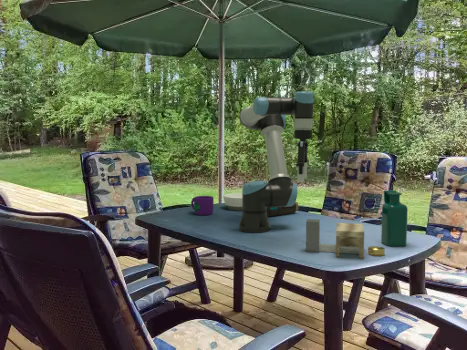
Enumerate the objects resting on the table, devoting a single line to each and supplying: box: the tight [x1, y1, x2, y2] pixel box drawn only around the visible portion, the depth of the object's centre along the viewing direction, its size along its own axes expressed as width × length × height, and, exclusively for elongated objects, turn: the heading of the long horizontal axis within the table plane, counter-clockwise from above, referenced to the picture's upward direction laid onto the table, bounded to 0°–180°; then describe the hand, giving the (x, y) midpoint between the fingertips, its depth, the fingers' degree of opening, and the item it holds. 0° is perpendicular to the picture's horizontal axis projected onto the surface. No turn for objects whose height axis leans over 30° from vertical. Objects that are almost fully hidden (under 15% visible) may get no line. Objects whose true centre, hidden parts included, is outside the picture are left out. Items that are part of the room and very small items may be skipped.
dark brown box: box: [266, 201, 299, 218], centre depth 246 cm, size 11×7×30 cm
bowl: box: [222, 192, 243, 212], centre depth 270 cm, size 22×22×8 cm
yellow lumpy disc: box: [367, 245, 386, 257], centre depth 167 cm, size 6×6×2 cm
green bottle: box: [380, 189, 409, 248], centre depth 182 cm, size 10×8×22 cm
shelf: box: [335, 222, 365, 260], centre depth 169 cm, size 10×15×10 cm, turn 166°
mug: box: [190, 195, 214, 216], centre depth 254 cm, size 17×11×10 cm, turn 43°
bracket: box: [305, 218, 360, 256], centre depth 170 cm, size 22×7×12 cm, turn 76°
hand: (302, 179), depth 184 cm, fingers open, 13 cm apart
